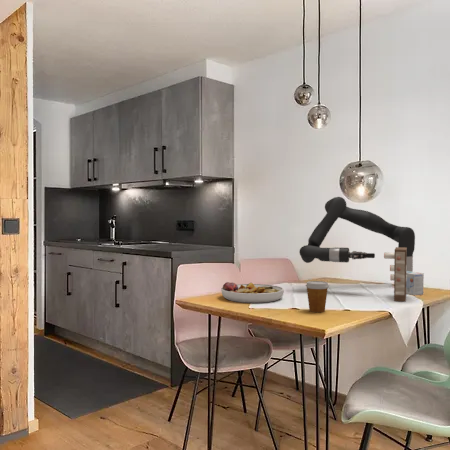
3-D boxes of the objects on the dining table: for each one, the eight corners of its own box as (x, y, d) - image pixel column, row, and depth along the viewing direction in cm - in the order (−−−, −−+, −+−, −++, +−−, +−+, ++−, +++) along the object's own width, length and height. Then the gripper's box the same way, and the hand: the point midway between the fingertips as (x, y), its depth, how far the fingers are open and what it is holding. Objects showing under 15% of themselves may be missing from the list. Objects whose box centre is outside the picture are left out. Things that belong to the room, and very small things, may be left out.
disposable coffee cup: (312, 307, 210) (312, 280, 209) (332, 310, 204) (332, 282, 203) (301, 311, 202) (301, 282, 202) (321, 314, 196) (321, 284, 196)
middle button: (390, 270, 230) (390, 264, 230) (406, 271, 228) (406, 265, 228) (389, 271, 228) (389, 265, 227) (406, 272, 225) (406, 265, 225)
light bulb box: (398, 292, 251) (398, 271, 250) (407, 291, 254) (407, 270, 253) (414, 295, 241) (414, 273, 241) (423, 294, 244) (424, 273, 244)
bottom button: (390, 279, 235) (390, 273, 235) (406, 280, 232) (406, 274, 232) (390, 280, 232) (390, 274, 232) (406, 281, 230) (406, 275, 230)
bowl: (280, 293, 248) (280, 278, 248) (286, 304, 218) (287, 287, 218) (222, 293, 249) (222, 278, 249) (220, 304, 219) (220, 287, 219)
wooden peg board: (395, 295, 241) (395, 247, 240) (406, 296, 239) (406, 247, 238) (394, 301, 225) (394, 249, 224) (405, 302, 223) (406, 250, 223)
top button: (384, 258, 241) (384, 252, 241) (400, 258, 238) (400, 252, 238) (384, 258, 238) (384, 252, 238) (399, 259, 235) (399, 253, 235)
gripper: (337, 248, 241) (373, 249, 235) (341, 246, 253) (375, 247, 247) (337, 263, 241) (373, 264, 235) (341, 260, 253) (375, 261, 247)
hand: (374, 255), depth 241 cm, fingers closed
